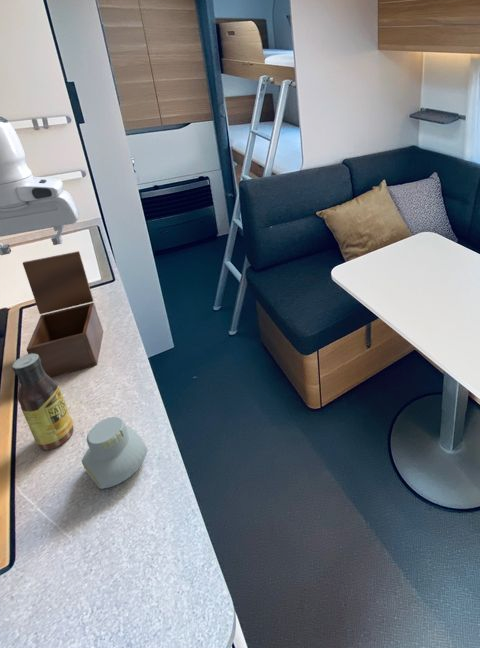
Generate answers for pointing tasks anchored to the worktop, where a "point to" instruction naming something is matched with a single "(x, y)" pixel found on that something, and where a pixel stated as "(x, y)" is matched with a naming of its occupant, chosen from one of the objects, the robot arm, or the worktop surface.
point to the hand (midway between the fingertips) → (32, 248)
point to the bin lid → (58, 282)
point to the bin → (67, 340)
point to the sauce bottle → (42, 403)
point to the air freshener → (113, 452)
